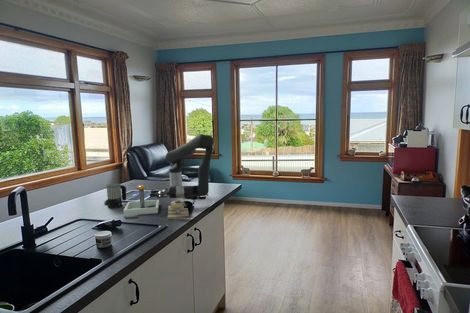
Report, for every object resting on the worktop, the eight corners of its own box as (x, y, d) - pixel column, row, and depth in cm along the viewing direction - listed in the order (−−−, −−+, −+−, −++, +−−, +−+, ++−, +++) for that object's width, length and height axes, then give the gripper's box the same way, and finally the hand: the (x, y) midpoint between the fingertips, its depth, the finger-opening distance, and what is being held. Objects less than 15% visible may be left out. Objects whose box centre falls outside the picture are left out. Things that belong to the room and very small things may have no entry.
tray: (128, 208, 203) (128, 201, 202) (159, 206, 206) (158, 199, 206) (123, 217, 184) (123, 210, 183) (157, 214, 188) (157, 207, 187)
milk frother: (117, 209, 202) (115, 186, 200) (95, 208, 206) (93, 186, 204) (129, 203, 216) (127, 182, 214) (108, 202, 219) (107, 181, 218)
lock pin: (140, 209, 198) (138, 185, 196) (147, 209, 197) (146, 185, 195) (137, 211, 193) (135, 186, 191) (144, 211, 193) (143, 186, 191)
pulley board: (168, 207, 203) (167, 193, 202) (187, 206, 205) (186, 192, 204) (167, 219, 179) (167, 204, 178) (188, 217, 181) (188, 202, 180)
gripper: (176, 183, 204) (150, 185, 201) (176, 188, 190) (149, 190, 188) (177, 195, 205) (151, 196, 202) (177, 200, 191) (149, 202, 188)
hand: (150, 193), depth 195 cm, fingers open, 8 cm apart
